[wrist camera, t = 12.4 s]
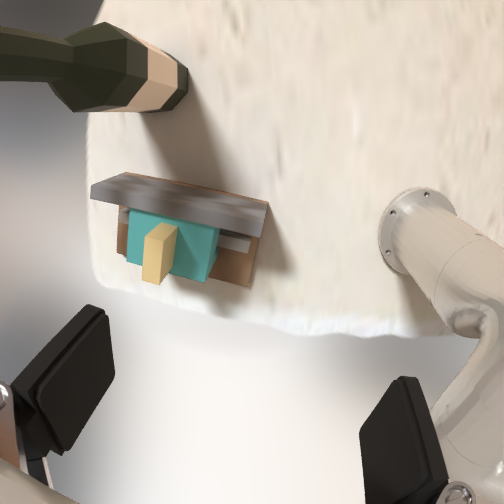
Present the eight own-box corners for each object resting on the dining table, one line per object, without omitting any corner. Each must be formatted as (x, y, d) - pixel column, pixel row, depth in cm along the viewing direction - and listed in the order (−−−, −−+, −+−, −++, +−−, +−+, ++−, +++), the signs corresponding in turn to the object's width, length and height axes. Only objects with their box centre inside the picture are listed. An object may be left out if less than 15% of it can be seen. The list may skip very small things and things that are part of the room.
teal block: (226, 209, 39) (204, 241, 29) (216, 258, 42) (194, 303, 32) (153, 192, 39) (110, 218, 29) (148, 240, 42) (109, 278, 32)
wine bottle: (176, 121, 37) (-23, 141, 9) (123, 105, 36) (-77, 119, 9) (199, 62, 33) (31, -31, 6) (144, 49, 33) (-42, -8, 5)
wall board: (268, 202, 40) (263, 223, 31) (248, 282, 44) (240, 318, 36) (126, 172, 40) (91, 185, 31) (120, 249, 44) (90, 276, 36)
